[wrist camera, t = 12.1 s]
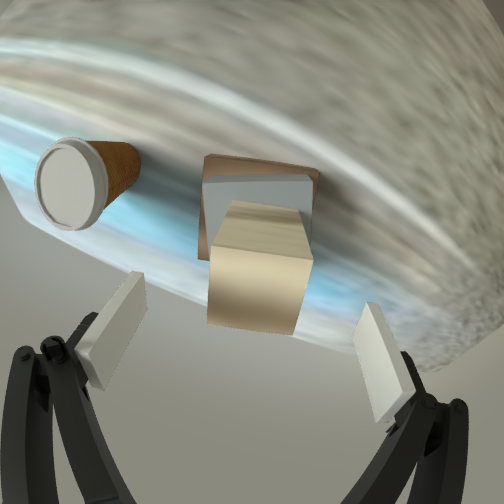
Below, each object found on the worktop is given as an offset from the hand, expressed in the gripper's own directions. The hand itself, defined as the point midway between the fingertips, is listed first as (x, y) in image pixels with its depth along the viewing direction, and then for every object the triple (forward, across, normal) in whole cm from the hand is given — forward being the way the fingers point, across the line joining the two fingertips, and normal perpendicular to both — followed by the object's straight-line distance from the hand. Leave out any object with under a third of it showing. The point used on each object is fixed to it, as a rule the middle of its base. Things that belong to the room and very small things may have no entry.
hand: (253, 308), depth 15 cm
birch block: (+12, 0, 0) cm, 12 cm away
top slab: (+16, 0, 0) cm, 16 cm away
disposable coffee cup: (+20, -19, +4) cm, 27 cm away
